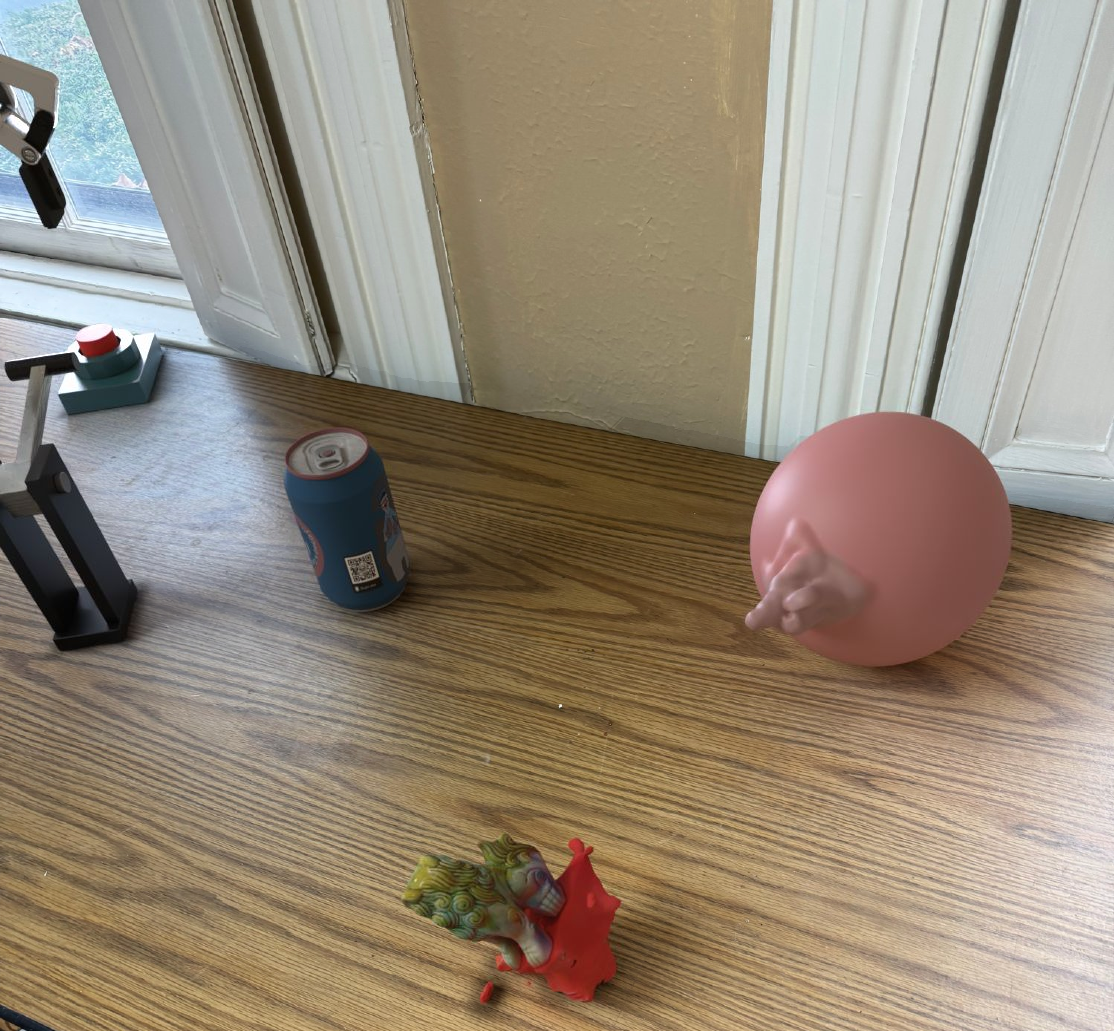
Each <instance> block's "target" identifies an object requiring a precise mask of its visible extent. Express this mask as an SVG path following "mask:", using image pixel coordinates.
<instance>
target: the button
mask: <svg viewBox="0 0 1114 1031" xmlns="http://www.w3.org/2000/svg"><path fill="white" fill-rule="evenodd" d="M113 329H114V328H113V326H112V325H111V324H109V323H95V324H90V325H88V326H86V327H83V328H81V329H80V330H79V331H78V332H77V333H76V334H75V336H74V337H75V342H76V341H77V343H78V345H79V347H80V349H81V351H82V353H83V355H84V356H88V357H93V356H99V355H103V354H105V353H108V352H111V351H113V350H114V349H115V348H117V347H118V346H119V342H118V339H117V337H116V335H115V333H114V330H113Z"/></svg>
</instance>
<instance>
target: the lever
mask: <svg viewBox="0 0 1114 1031" xmlns="http://www.w3.org/2000/svg"><path fill="white" fill-rule="evenodd" d="M79 371H80V362H79V359H78V357H77V355H76V353H75V352H73V351H69V352H67V351H64V352H58V353H50V354H44V355H43V354H42V355H38V356H32V357H25V358H18V359H12V360H6V361H5V362H4V372H5V375H6V377H7V379H9V381H11V382H13V383H15V382H21V381H27V380H28V384H27V390H26V396H25V402H24V407H23V414H22V419H21V426H20V432H19V437H18V444H17V448H16V449H17V450H16V455H15V461H10V462H5V463H2V464H0V502H1V503H2V504H3V506H4V507H5V508H6V509H7V510H8V512H9V513H10V514H11V515H12V517H13V518H19V517H26V516H32V515H33V516H38V515H43V513H42V512H41V510H40V508H39V507H38V505H37V503H36V501H35V500H34V498H33V496H32V495H31V493H30V491H29V489H28V488H27V486H26V484H25V483H24V481H25V478H26V476H27V474H28V471H29V469H30V466H31V464H32V462H33V459H34V457H35V454H36V452H37V450H38V447H39V445H43V444H42V443H43V436H44V430H45V424H46V418H47V412H48V405H49V399H50V393H51V386H52V379H53V376H58V375H66V374H67V373H73V372H79Z"/></svg>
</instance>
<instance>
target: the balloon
mask: <svg viewBox="0 0 1114 1031" xmlns="http://www.w3.org/2000/svg"><path fill="white" fill-rule="evenodd" d="M750 527H751V529H750V539H749V557H750V564H751V571H752V576H753V578H754V582H755V585H756V588H757V591H758V593H759V596H760V597H761V600H760V601H759V602H758V603H757V605H756V606H755V608H754V609H753V610H751V611H749V612H748V613H747V614H746V616H745V619H744V624H745V626H746V627H747V628H748V629H750V631H753V632H755V631H759V630H764V629H771V630H772V631H774V632H776V633H780V634H782V635H788V636H790V637H791V638H792V639H793V640H794V641H796V642H797V643H798V644H800V645H802V646H803V647H805V648H806V649H808V650H810V651H811V652H813V653H815V654H817V655H818V656H820V657H823V658H826V659H828V660H832V661H834V662H838V663H842V664H846V665H852V666H858V667H873V668H874V667H876V668H877V667H889V666H895V665H896V666H897V665H903V664H906V663H911V662H913V661H916V660H920V659H923V658H925V657H927V656H929V655H932V654H934V653H936V652H938V651H940V650H941V649H943V648H945V647H946V646H948V645H950V644H951V643H953V642H954V641H956V640H957V639H958V638H960V637H961V636H962V635H964V634H965V633H966V632H967V631H968V630H969V629H970V628H971V627H972V626H973V625H974V624H975V623H976V622H977V621H978V620H979V619H980V617H981V616H982V615H983V614H984V613H985V611H986V610H987V609H988V607H990V604H992V601H993V599H994V598H995V596H996V595H997V593H998V591H999V589H1000V587H1001V584H1002V582H1003V580H1004V578H1005V574H1006V572H1007V568H1008V565H1009V561H1010V557H1011V553H1012V552H1011V551H1012V543H1013V520H1012V513H1011V508H1010V503H1009V499H1008V496H1007V492H1006V489H1005V486H1004V485H1003V482H1002V480H1001V478H1000V476H999V474H998V472H997V471H996V469H995V467H994V466H993V465H992V463H991V462H990V460H989V459H988V457H987V456H986V455H985V453H983V451H982V450H981V449H980V448H979V447H978V446H976V444H975V443H974V442H972V441H971V440H970V439H969V438H968V437H966V436H965V435H964V434H962V433H960V431H958V430H956V429H954V428H953V427H951V426H949V425H948V424H946V423H943V422H941V421H939V420H936V419H934V418H932V417H931V418H930V417H927V416H924V415H920V414H915V413H910V412H905V411H904V412H903V411H874V412H866V413H861V414H857V415H853V416H850V417H846V418H844V419H840V420H837V421H834V422H832V423H830V424H829V425H827V426H825V427H822V428H821V429H819V430H817V431H816V432H814V433H812V434H811V435H809V436H808V437H806V438H805V439H803V441H801V442H800V443H799V444H798V445H797V446H796V447H794V448H793V449H792V450H791V451H790V452H789V453H788V454H787V455H786V456H785V457H784V459H782V460H781V461H780V463H779V464H778V466H776V468H775V469H774V471H773V472H772V474H771V476H770V477H769V479H768V480H767V482H766V484H765V486H764V487H763V490H762V492H761V494H760V496H759V498H758V501H757V504H756V507H755V510H754V514H753V518H752V521H751V526H750Z"/></svg>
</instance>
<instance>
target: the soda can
mask: <svg viewBox="0 0 1114 1031" xmlns="http://www.w3.org/2000/svg"><path fill="white" fill-rule="evenodd" d="M284 464H285V471H284V475H283V488H284V490H285V493H286V496H287V499H288V501H289V505H290V507H291V510H292V512H293V516H294V518H295V521H296V524H297V527H298V529H299V532H300V535H301V538H302V541H303V544H304V547H305V549H306V552H307V554H308V557H309V560H310V563H311V565H312V569H313V572H314V574H315V577H316V580H317V583H318V586H319V588H320V591H321V592H322V593H323V595H324V596H325V597H326V598H327V599H328V600H329V601H331V602H332V603H334V604H336V606H339V607H341V608H342V609H343V610H346V611H349V612H355V613H366V612H373V611H377V610H381V609H382V608H385V607H387V606H389V605H390V604H392V603H393V602H394V601H396V600H397V599H398V598H399V597H400V596H401V595H402V593H403V591H404V589H405V587H406V585H407V583H408V581H409V578H410V575H411V569H412V568H411V560H410V558H409V554H408V550H407V546H406V542H405V539H404V535H403V532H402V528H401V524H400V520H399V517H398V514H397V509H396V506H395V502H394V498H393V495H392V490H391V487H390V483H389V481H388V476H387V473H386V469H385V465H384V461H383V459H382V457H381V456H380V454H379V453H378V452H377V451H376V450H375V448H373V447H372V446H371V445H370V443H369V440H368V438H367V437H366V435H364V434H363V433H362V432H360V431H358V430H356V429H353V428H350V427H349V428H348V427H329V428H322V429H319V430H315V431H312V432H309V433H307V434H305V435H303V436H302V437H300V438H298V439H297V440H296V441H295V442H293V443H292V444H291V445H290V446H289V447H288V449H287V450H286V452H285V455H284Z"/></svg>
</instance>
